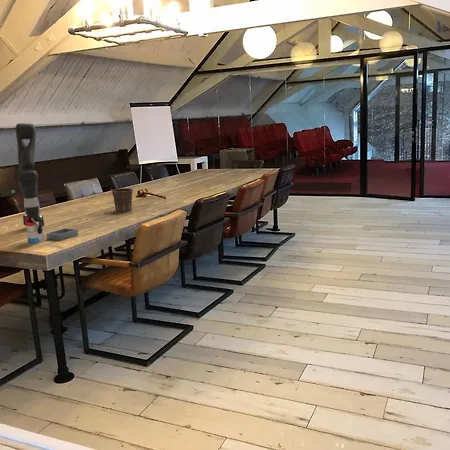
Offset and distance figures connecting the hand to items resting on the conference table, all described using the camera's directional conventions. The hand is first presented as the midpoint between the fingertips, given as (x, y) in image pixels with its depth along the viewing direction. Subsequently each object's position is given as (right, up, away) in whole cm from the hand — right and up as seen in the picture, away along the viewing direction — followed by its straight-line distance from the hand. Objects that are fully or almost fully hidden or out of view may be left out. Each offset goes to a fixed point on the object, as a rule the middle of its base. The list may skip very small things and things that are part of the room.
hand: (34, 233), depth 284 cm
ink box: (0, -5, +1) cm, 5 cm away
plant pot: (+33, +16, +91) cm, 98 cm away
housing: (+13, -3, +10) cm, 16 cm away
